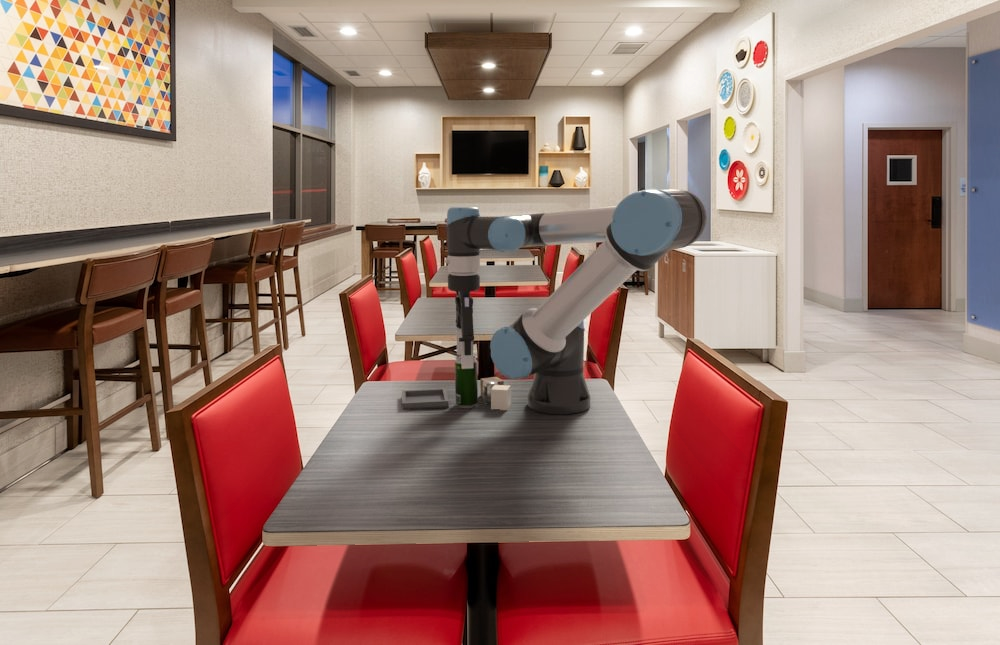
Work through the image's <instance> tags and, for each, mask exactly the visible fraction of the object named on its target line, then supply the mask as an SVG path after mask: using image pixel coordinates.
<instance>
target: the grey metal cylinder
mask: <svg viewBox="0 0 1000 645" xmlns="http://www.w3.org/2000/svg"><path fill="white" fill-rule="evenodd" d="M494 385H498V382H496V381H484V382H483V397H482V402H484V403H487V404H486V405H491V389H492V387H493V386H494ZM484 403H483V404H484Z"/></svg>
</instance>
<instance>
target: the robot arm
mask: <svg viewBox="0 0 1000 645" xmlns="http://www.w3.org/2000/svg"><path fill="white" fill-rule="evenodd" d="M707 216H708V215H707V211H706V208H705V204H704V203H703V201H702V200H701V199H700V197H698V196H697V195H696V194H695V193H692V192H691V191H689V190H686V189H681V188H680V189H679V188H677V189H675V188H674V189H660V188H659V189H658V188H647V189H645V188H644V189H641V190H638V191H635V192H632V193H630V194H629V195H627V196H625V197H624V198H622V200H620V202H619V203H618V204H617V205H614V206H604V207H595V208H594V207H593V208H585V209H584V208H582V209H575V210H564V211H563V210H562V211H553V212H546V213H545V212H543V213H542V212H541V213H532V214H522V215H521V214H520V215H504V216H503V215H502V216H482V215H480V209H479V208H478V207H476V206H451V207H450V208H448V209H447V214H446V225H445V228H446V236H447V237H446V238H447V241H446V242H447V247H446V248H447V259H445V260H444V264H447V272H449V274H448V275H447V289H448V290H449V291H451V292H455V293H456V296H455V297H454V298H455V299H454V301H455V302H454V303H455V313H456V314H455V324H456V325H455V327H456V355H457V356H460V355H461V363H462V369H470V368H473V356H474V340H475V335H474V334H475V333H474V332H475V330H474V317H473V314H474V313H473V312H474V308H473V306H474V298H473V297H472V296H471V292H476V291H479V290H480V288H481V286H480V285H481V284H480V283H481V277H480V276H481V275H480V274H479V272H480V271H481V259H480V258H481V254H480V250H487V251H498V252H502V253H504V252H505V253H506V252H515V251H518V250H519V249H521V248H529V247H530V248H531V247H544V246H555V245H557V246H558V245H572V244H574V245H575V244H591V243H593V244H594V243H600V245H598V247H597V248H596V249H595V250H593V251H592V253H591V254H590V255H588V256H587V258H586V259H584V261H583V262H582V263H581V264H580V265H579V266H578V267H577V268H576V269H575V270H574V271H573V272H572V273H571V274H570V275H569V276H568V277H567V278H566V279H565V280H564V281H563V283H561V284H560V285H559V286H558V287H557V289H555V290H554V292H552V293H551V294H550V295H549V296H548V298H546V299H545V300H544V301H543V303H541V305H539V307H538V308H536V307H531V308H528V309H526V310H525V311H524V312H522V314H521V315H520V316H519V317H518V318H517V319H516V320H515V321H514V322H513V323H512V324H511V325H509V326H504V327H501V328H500V329H498V330H497V331H495V332H494V334H493V335H492V337H491V340H490V345H489V348H490V357H491V360H492V363H493V364H494V366H495V368H496V369H497V371H498V372H499V373H500V374H501V375H503V376H504V377H506V378H508V379H510V380H519V379H526V378H528V377H529V376H531V375H534V376H533V379H532V382H531V385H530V389H529V391H528V394H527V406H528V408H529V409H530V410H533V411H535V412H539V413H542V414H550V415H569V414H570V415H571V414H572V415H573V414H577V413H582V412H585V411H587V410H589V409H590V408H591V394H590V390H589V389H588V388H589V387H588V384H587V382H586V379H585V376H584V359H585V356H584V355H585V354H584V352H585V351H584V350H585V349H584V348H585V347H584V346H585V330H586V329H585V322H584V320H585V319H587V318H588V316H590V315H591V314H593V312H594V311H595V310H597V308H598V307H599V306H600V305H602V304H603V303H604V302H605V300H607V298H609V297H610V296H611V295H612V294H613V293H614V292H615V291H617V289H619V287H620V286H622V285H624V283H625V282H626V281H627V280H628V279H629V278H630V277H631V276H632V275H633V274H635V273H636V272H637V271H641V272H646V271H648V270H650V269H651V268H652V267H653V266H655V265H656V263H658V261H659V262H660V260H661V259H662V258H663V257H665V255H666V254H667V253H669V252H670V251H672V250H677V249H683V248H687V247H689V246H691V245H692V244H694V243H695V242H697V240H698V239H700V237H701V235H703V232H704V231H705V228H706V226H707V219H708V218H707Z"/></svg>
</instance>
